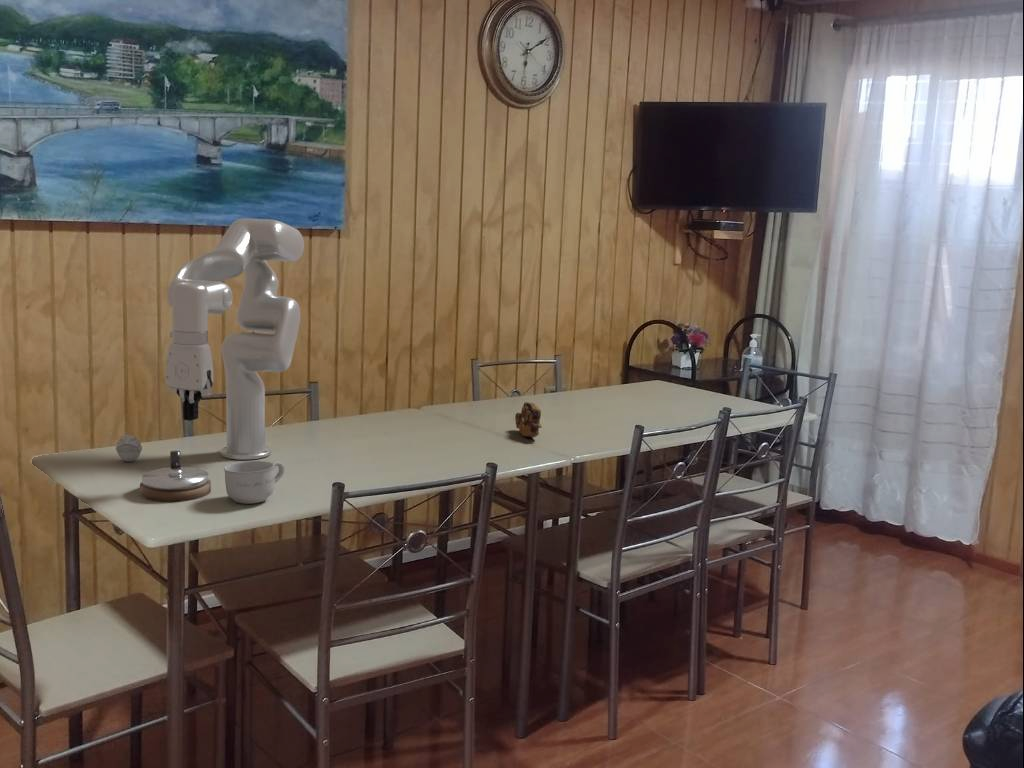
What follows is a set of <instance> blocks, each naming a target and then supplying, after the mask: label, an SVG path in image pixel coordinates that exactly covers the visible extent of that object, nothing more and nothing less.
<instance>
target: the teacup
mask: <svg viewBox="0 0 1024 768" xmlns="http://www.w3.org/2000/svg"><path fill="white" fill-rule="evenodd" d="M275 467H278V472H277V473H276V475H275ZM223 470H224V482H225V483H224V484H225V489H226V490H225V491H226V494H227V496H228V497H229V498H231V499H232V500H234V502H236V503H238V504H248V505H249V504H250V505H251V504H258V503H262V502H264V501H266V500H267V499H268V498H269V497H270V496H271V495H272V494H273V493H274V490H275V485H276V483H277V482H278V481H280V479H281V478H282V477H283V476H284V474H285V467H284V464H283V463H282V462H280V461H273V462H270V461H266V460H246V461H245V460H244V461H238V462H233V463H229V464H227V465H225V466H224V467H223Z"/></svg>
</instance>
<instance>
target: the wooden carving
mask: <svg viewBox="0 0 1024 768" xmlns="http://www.w3.org/2000/svg"><path fill="white" fill-rule="evenodd" d="M541 416H542V410H541V409H540V407H539V405H538V404H537V403H535V402H528V401H527V402H525V401H524V403H523V406H522V408H521V412H516V413H515V420H514V421H515V427H516V428H517V429H518V430H519V433H520V434H521V436H522V437H527V438H536V437H538V435H540V430H539V429H542V424H541V423H540V420H541Z"/></svg>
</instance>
